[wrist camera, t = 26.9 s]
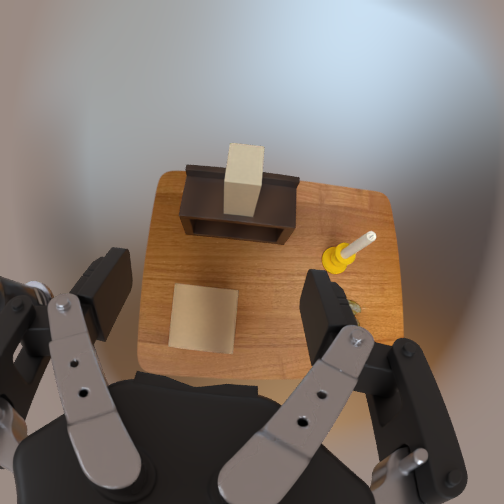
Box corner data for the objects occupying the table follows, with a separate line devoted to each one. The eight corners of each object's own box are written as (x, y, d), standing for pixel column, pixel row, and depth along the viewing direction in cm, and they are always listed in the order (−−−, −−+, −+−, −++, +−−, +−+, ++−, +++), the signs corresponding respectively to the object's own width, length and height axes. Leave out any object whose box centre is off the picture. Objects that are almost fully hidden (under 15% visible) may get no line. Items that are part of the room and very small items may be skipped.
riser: (183, 341, 45) (168, 346, 32) (188, 295, 48) (175, 283, 34) (230, 346, 46) (233, 354, 33) (234, 300, 48) (238, 290, 35)
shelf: (185, 234, 51) (176, 210, 40) (192, 195, 53) (186, 164, 42) (283, 244, 52) (298, 223, 41) (285, 205, 54) (299, 177, 43)
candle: (330, 279, 51) (370, 259, 36) (316, 255, 52) (350, 226, 37) (351, 266, 52) (394, 242, 37) (337, 243, 53) (375, 212, 38)
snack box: (223, 213, 43) (224, 181, 33) (228, 179, 44) (230, 142, 35) (253, 217, 43) (261, 185, 33) (256, 183, 45) (264, 146, 35)
